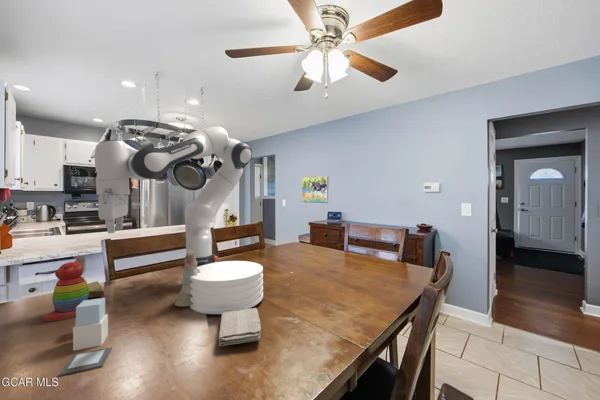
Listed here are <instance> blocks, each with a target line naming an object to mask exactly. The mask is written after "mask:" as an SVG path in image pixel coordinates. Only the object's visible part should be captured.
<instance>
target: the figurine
mask: <svg viewBox="0 0 600 400" xmlns="http://www.w3.org/2000/svg"><path fill="white" fill-rule="evenodd" d="M185 256H186V261H185V260H184V269H183V271H182V280H181V284H180V285H181V286H182V287H181V289H180V290H179V292H178V293H177V294H178V295H177V297H176V298H175V303H174V305H175V306H177V307H190V306H191V304H194V303H193V302H191V301H190V297H193V296H192V295H191V294H190V290H191V289H192V288H191V287H190V283H192V281H191V280H190V276H196V275H197V274H198V273H201V272H200V271H199V269H197V268H195V267H196V266H197V261H196V258H195V254H194V251H192V250H190V251H188V252H187V254H186V253H185ZM185 268H186V269H185Z"/></svg>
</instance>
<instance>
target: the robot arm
mask: <svg viewBox="0 0 600 400" xmlns="http://www.w3.org/2000/svg"><path fill="white" fill-rule="evenodd" d="M211 155H214V156H215V157H216V158H218V159H221V160H223V162H222V164H221V166H220V167H218V169H217V171H216V172H215V173H214V174H213V176H212V177H211V178H210V179H209V180H208V182H207V183H206V184H205V185H204V186H203V188H202V190H201V191H200V193H198V195H197V196H196V198H195V200H194V201H192V202H190V203H189V204H188V205H187V206H186V207H185V210H184V225H185V226H184V227H185V228H184V229H185V257H184V262H185V261H186V254H187V252H188V251H190V250H192V251H194V254H195V258H196V261H197V266H196V267H199V266H202V265H206V264H210V263H216V262H218V261H219V257H218V256H217V255H215V254H213V240H212V232H211V231H212V230H211V222H212V221H213V220H214V218H215V217H216V215H217V214H218V212H219V210H220V208H221V206H222V205H223V203H224V202H225V201H226V199H227V197H228V196H229V195H230V194H231V192H232V191H233V189H234V188H235V186H237V184H238V183H239V181H240V179H241V177H242V175H243V173H244V169H245V167H246V166H247V165H248V164H249V163H250V161H251V160H252V156H253V150H252V147H251V146H250V145H248V144H247V143H245V142H242V141H241V140H238V139H235V138H231V137H229V134H228V132H227V129H225V128H223V127H221V126H219V125H215V126H207V127H204V128H200V129H198V130H197V129H196V130H194V131H192V132H191V133H189V134H187V135H185V136H183V139H182V141H180V142H178V143H176V144H172V145H169V146H166V147H161V148H159V147H157V148H156V147H144V148H141V149H140V150H138V149H136V148H134V147H132V146H130V145H129V144H127V143H126V142H125V141H124V140H121V139H109V140H103V141H100V142H99V143H98V144H96V146H95V150H94V168H95V171H96V178H95V187H96V188H95V189H96V195H97V196H98V203H97V204H98V207H97V208H98V209H97V211H98V213H97V214H98V218H99V220H101V221H103V220H104V221H105V225H106V228H107V232H106V233H107V234H115V233H116V230H117V231H119V230H120V231H121V230H122V229H123V227H124V225H123V224H124V220H125V219H124V216H127V215H128V213H129V195H131V190H130V179H133V180H139V181H145V180H156V179H159V178H161V177H162V176H164V175H165V174H166V173H167V172H168V171H169V169H171V168H172V167H173V166H175V165H177V164H179V163H182V162H184V161H186V160H189V159H194V160H197V159H203V158H206V157H209V156H211ZM196 267H195V268H196ZM184 269H186V268H185V267H184Z"/></svg>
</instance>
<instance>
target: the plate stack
mask: <svg viewBox="0 0 600 400" xmlns="http://www.w3.org/2000/svg"><path fill="white" fill-rule="evenodd" d="M196 268H197V269H199V271H200V272H201V273H198V274H197V275H196V276H190V280H191V281H192V283H190V287H191V288H192V289H191V290H190V294H191V295H192V296H193V297H190V301H191V302H193V303H194V304H191V306H189V308H190V309H191V310H193V311H195V312H197V313H201V314H206V315H222V313H223V312H229V311H240V310H245V309H250V308H252V307H253V308H254V307H255V306H256V305H258V304H259V303H260V302H262V300H263V298H264V274H263V272H264V267H263V265H261V264H260V263H257V262H253V261H247V260H227V261H225V260H224V261H216V263H210V264H206V265H202V266H199V267H196Z"/></svg>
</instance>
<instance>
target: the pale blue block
mask: <svg viewBox="0 0 600 400" xmlns="http://www.w3.org/2000/svg"><path fill="white" fill-rule="evenodd" d="M105 315H106V297H100V298H94V299H93V298H92V299H88V300H84V301H82V302H81V303H80V304H79V305H78V306H77V307H76V317H75V320H76V326H83V325H89V324H95V323H100V321H101V320H102V319H103V317H104V316H105Z"/></svg>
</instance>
